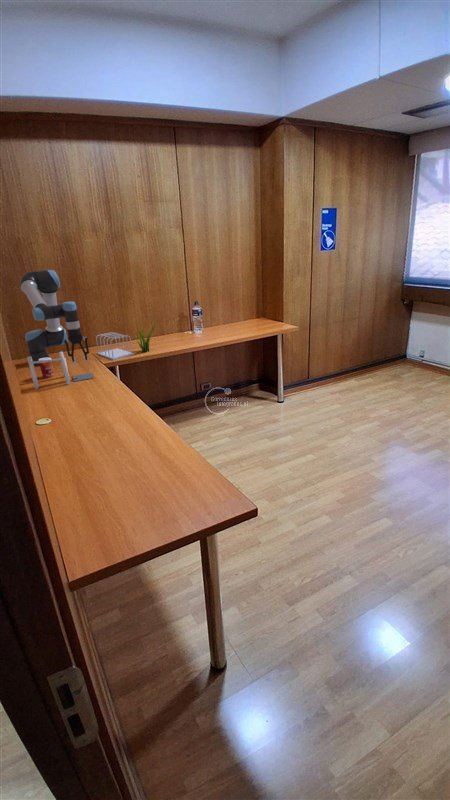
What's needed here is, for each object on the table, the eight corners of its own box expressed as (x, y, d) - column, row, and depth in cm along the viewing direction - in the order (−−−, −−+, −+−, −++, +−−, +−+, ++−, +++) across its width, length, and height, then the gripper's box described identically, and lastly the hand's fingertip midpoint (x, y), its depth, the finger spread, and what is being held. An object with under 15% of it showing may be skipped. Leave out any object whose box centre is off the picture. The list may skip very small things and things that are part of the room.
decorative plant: (155, 320, 285) (135, 315, 282) (148, 355, 302) (129, 350, 299) (158, 310, 300) (139, 305, 297) (151, 344, 316) (132, 339, 313)
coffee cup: (50, 383, 251) (45, 360, 246) (39, 383, 253) (34, 360, 248) (59, 379, 258) (54, 357, 253) (48, 379, 261) (44, 356, 256)
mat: (72, 376, 251) (72, 375, 251) (92, 373, 255) (92, 372, 255) (73, 381, 241) (73, 380, 241) (94, 378, 245) (93, 377, 245)
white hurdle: (33, 381, 247) (27, 356, 242) (69, 375, 255) (64, 351, 249) (31, 390, 230) (25, 364, 224) (70, 384, 237) (65, 358, 231)
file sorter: (97, 355, 302) (93, 335, 296) (118, 350, 312) (114, 331, 307) (113, 360, 284) (109, 339, 278) (134, 355, 295) (131, 334, 289)
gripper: (57, 331, 231) (65, 369, 239) (89, 327, 237) (96, 364, 245) (57, 329, 237) (65, 366, 246) (88, 325, 243) (95, 362, 252)
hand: (81, 365), depth 245 cm, fingers open, 5 cm apart
